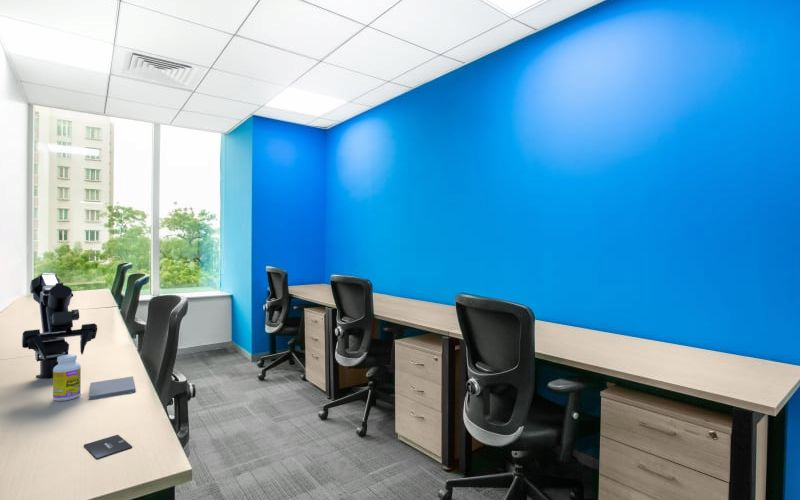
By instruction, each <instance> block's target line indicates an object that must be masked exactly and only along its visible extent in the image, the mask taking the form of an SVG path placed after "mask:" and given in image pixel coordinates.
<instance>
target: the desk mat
mask: <svg viewBox="0 0 800 500" xmlns="http://www.w3.org/2000/svg"><path fill="white" fill-rule="evenodd" d="M136 392H137V391H136V385H135V379H134V376H133V375H132V376H126V377H121V378H120V377H119V378H114V379H113V378H112V379H107V380H100V381H93V382H90V383H89V393H88V401H89V400H96V399H102V398H107V397H114V396H119V395H124V394H131V393H136Z"/></svg>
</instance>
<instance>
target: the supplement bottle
mask: <svg viewBox="0 0 800 500" xmlns="http://www.w3.org/2000/svg"><path fill="white" fill-rule="evenodd" d="M76 360H77V354H73V353H72V354H69V353H68V355H62V356H59V357H57V361H58V365H56V366H55V367H54V368H53V377H52V399H53V400H54V401H56V402H63V401H70V400H74V399H76V398H79V397H80V396H81V386H82V385H81V378H82V377H81V369H82V368H81V367H82V366H81V364H80V363H79V362H77V361H76Z"/></svg>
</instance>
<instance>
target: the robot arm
mask: <svg viewBox="0 0 800 500" xmlns="http://www.w3.org/2000/svg"><path fill="white" fill-rule="evenodd" d="M29 286H30V287H29V289H30V291H29V292H30V294H32V298H33V300H34V301H35V302H37V303H38V304H39V313H40V320H41V329H42V330H40V329H39V328H37V329H28V330H24V331H23V332H22V337H21V346H22V348H24V349H28V350H33V351H34V352H35V353H34V356H35V358H34V359H35V361H36V362H40V363H39V364H40V365H39V366H40V367H39V368H40V369H39V370H40V374H37V375H35V378H41V379H42V378H44V379H51V378H53V368H54V367H55V366H56V365H58V361H57V357H59V356H62V355H69V350H70V348H69V347H70V343H68V340H65V338H71V337H80V342H79V343H80V348H79V349H80V355H84V352H85V347H86V345H87V344H88V342H90V341H92V340H94V339H96V337H97V333H98V325H97V324H96V323H84V324H81V326H80V329H73V328H74V324H73V322H74V321H78V320H79V319H80V311H79V309H71V311H70V310H69V306H70V304H71V299H72V298H73V297H74V292H73V291H72V288H71V287H69V286H68V285H64V283H63V282H61V280H60V278H59V277H57V273H55V272H46V273H45V272H42V273H38V276H36V277H35V278H34V279H31V281H30V285H29Z"/></svg>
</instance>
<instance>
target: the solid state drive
mask: <svg viewBox="0 0 800 500" xmlns="http://www.w3.org/2000/svg"><path fill="white" fill-rule="evenodd" d="M83 448H85V450H86V451H87V452H88V453H89V454H91V456H92V457H93V458H95V460H100V459H103V458H105V457H109V456H113V455H115V454H118V453H121V452H124V451H127V450H130V449H132V448H133V446H132V444H130V443H129V442H128V441H127V440H126V439H124V438H123V437H121V435H119V434H114V435H111V436H108V437H106V438H105V437H104V438H101V439H98V440H94V441H91V442H88V443H85V444H83Z"/></svg>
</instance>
